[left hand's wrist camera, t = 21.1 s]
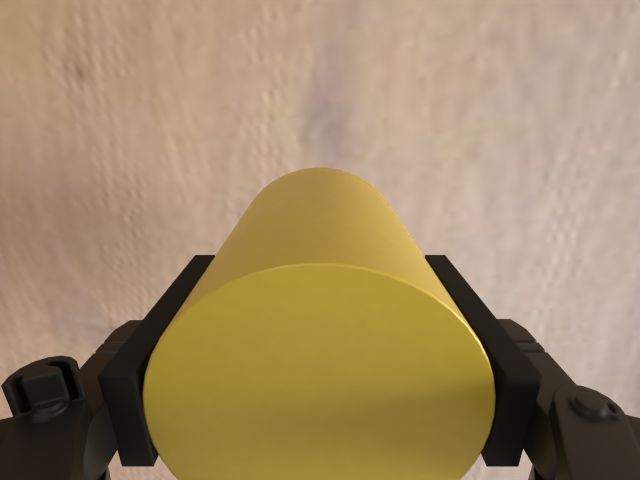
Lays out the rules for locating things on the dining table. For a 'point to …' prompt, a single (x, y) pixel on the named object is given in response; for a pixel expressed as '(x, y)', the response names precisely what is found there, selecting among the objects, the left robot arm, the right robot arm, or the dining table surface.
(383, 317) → the cylinder
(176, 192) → the dining table surface
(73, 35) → the dining table surface
